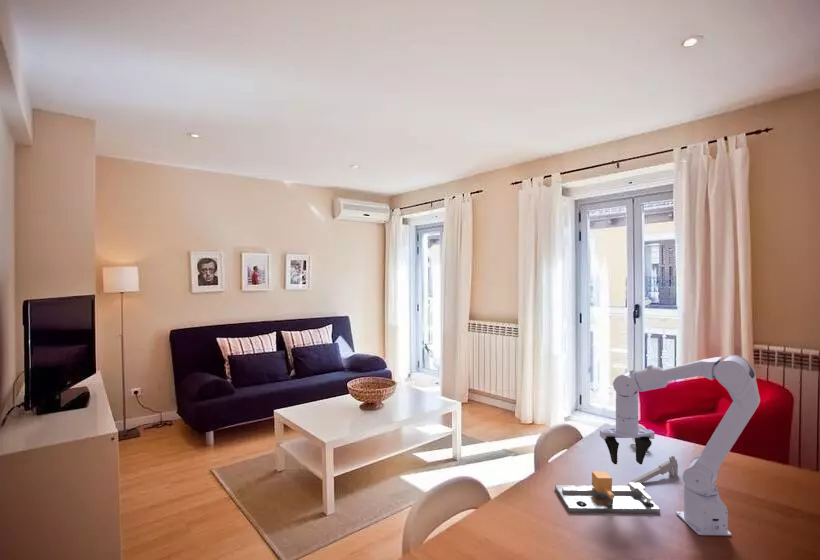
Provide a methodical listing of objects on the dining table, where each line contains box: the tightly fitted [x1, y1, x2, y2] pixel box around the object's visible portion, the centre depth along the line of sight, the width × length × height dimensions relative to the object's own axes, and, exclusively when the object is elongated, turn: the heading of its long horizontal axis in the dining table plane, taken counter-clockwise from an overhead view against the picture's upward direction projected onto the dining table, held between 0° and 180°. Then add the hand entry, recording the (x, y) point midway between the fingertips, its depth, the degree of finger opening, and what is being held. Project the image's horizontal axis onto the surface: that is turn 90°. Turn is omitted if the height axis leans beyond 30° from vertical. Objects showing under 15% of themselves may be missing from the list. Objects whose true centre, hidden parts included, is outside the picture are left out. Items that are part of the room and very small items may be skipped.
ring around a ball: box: [631, 423, 651, 443], centre depth 154 cm, size 8×6×8 cm
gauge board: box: [554, 482, 661, 514], centre depth 118 cm, size 12×24×3 cm, turn 88°
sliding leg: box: [591, 470, 614, 504], centre depth 118 cm, size 8×4×5 cm, turn 178°
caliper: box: [626, 455, 679, 486], centre depth 130 cm, size 20×1×6 cm, turn 112°
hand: (626, 462), depth 120 cm, fingers open, 6 cm apart
